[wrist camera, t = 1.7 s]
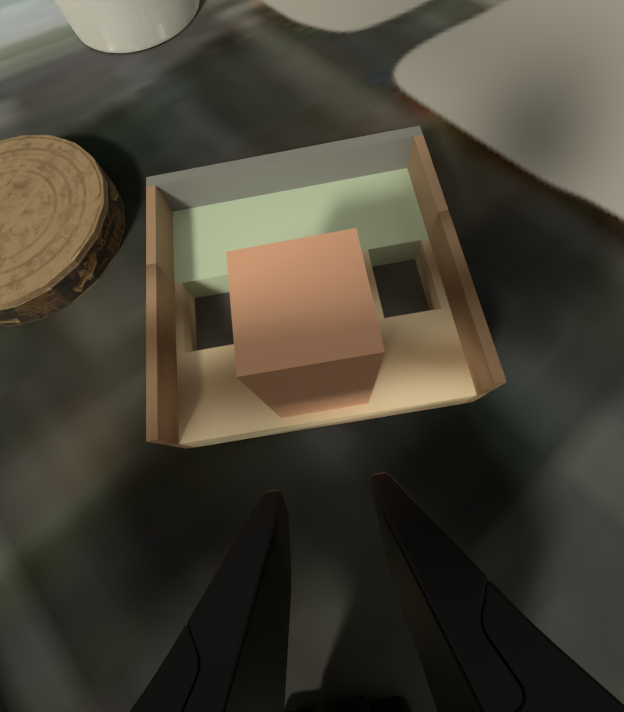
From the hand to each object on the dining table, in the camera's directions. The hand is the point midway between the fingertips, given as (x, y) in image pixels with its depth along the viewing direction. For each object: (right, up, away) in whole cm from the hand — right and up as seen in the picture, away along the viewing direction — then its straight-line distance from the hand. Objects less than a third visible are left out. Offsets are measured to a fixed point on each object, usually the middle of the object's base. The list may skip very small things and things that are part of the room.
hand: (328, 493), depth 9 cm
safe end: (-1, +12, +18) cm, 21 cm away
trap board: (0, +4, +15) cm, 16 cm away
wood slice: (-23, +13, +21) cm, 34 cm away
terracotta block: (0, +3, +12) cm, 12 cm away
